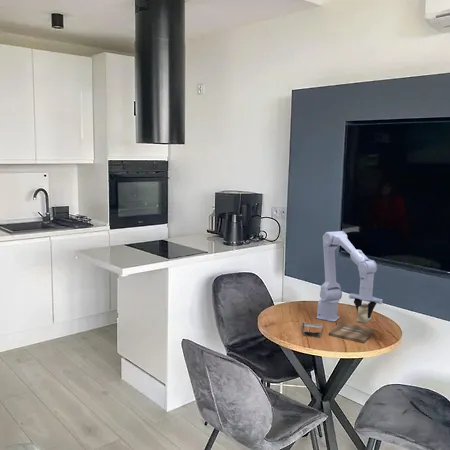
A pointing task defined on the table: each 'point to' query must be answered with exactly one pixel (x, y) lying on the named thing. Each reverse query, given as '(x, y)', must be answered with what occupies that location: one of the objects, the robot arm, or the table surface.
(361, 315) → the block
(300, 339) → the table surface
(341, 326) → the walnut board
